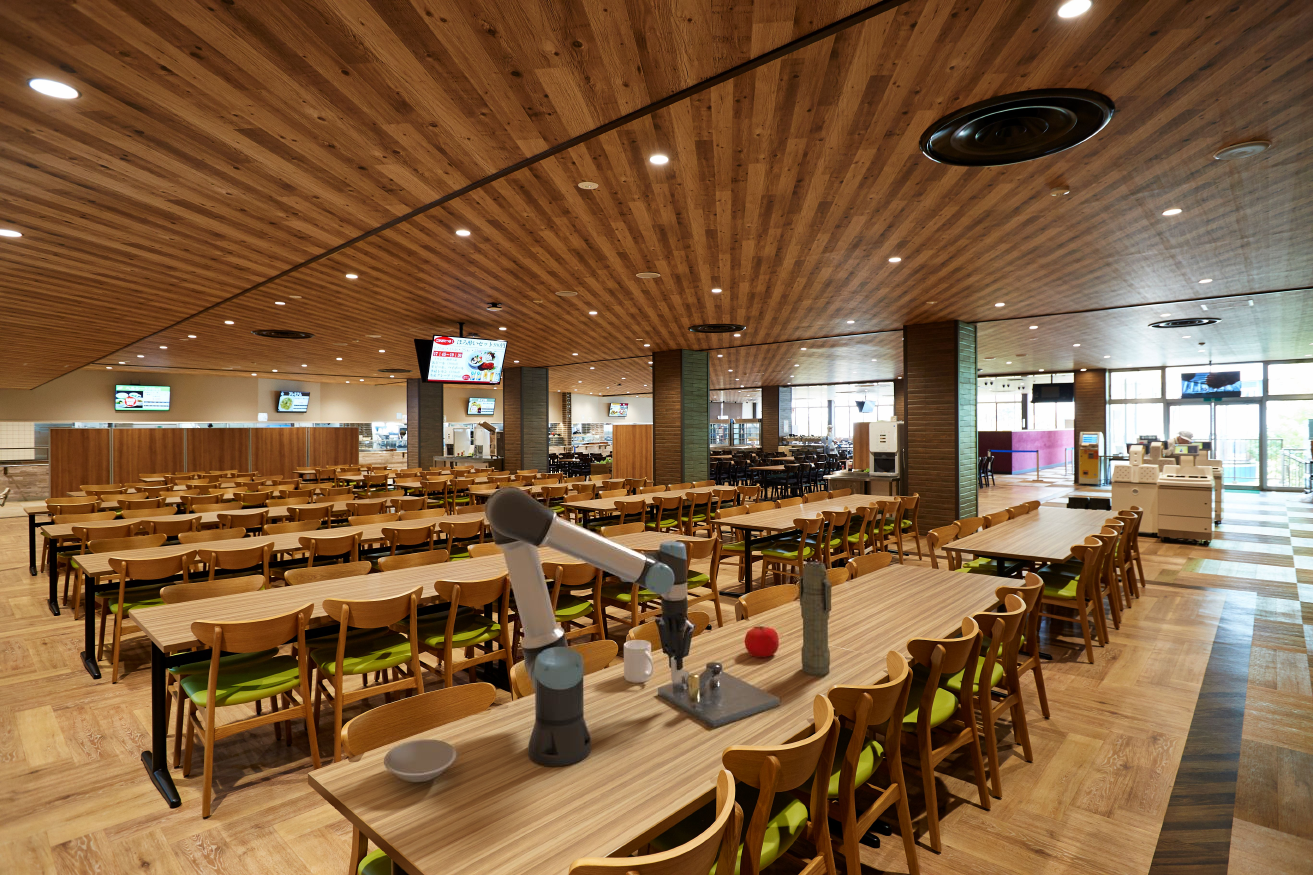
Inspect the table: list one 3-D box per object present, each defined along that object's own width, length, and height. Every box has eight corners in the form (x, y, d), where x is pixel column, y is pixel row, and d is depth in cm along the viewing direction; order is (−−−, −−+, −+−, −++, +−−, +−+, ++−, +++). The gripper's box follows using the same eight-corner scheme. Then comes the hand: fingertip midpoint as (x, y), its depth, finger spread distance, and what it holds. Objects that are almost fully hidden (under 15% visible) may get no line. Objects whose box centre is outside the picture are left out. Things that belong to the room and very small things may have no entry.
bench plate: (713, 728, 162) (713, 705, 162) (657, 694, 183) (657, 674, 183) (779, 705, 175) (779, 683, 175) (720, 676, 197) (720, 657, 197)
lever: (683, 700, 172) (683, 675, 172) (709, 676, 188) (709, 654, 188) (699, 703, 169) (699, 678, 169) (724, 679, 186) (724, 656, 186)
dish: (370, 778, 139) (370, 756, 139) (429, 752, 151) (429, 732, 151) (410, 807, 128) (410, 783, 128) (470, 777, 139) (470, 755, 139)
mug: (641, 689, 187) (641, 653, 187) (618, 677, 197) (618, 643, 197) (663, 681, 193) (663, 647, 193) (640, 670, 202) (639, 637, 202)
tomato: (786, 657, 213) (785, 627, 213) (753, 663, 208) (753, 632, 208) (768, 647, 223) (768, 619, 223) (737, 652, 218) (737, 623, 218)
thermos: (824, 679, 193) (823, 567, 193) (792, 669, 202) (791, 562, 202) (839, 672, 199) (838, 563, 199) (808, 662, 208) (807, 558, 208)
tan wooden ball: (691, 692, 180) (691, 678, 180) (683, 687, 183) (682, 674, 183) (702, 689, 182) (701, 675, 182) (693, 684, 185) (693, 671, 185)
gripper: (648, 596, 177) (650, 679, 177) (684, 603, 168) (687, 689, 168) (664, 591, 182) (666, 670, 183) (700, 597, 174) (702, 680, 174)
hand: (676, 679), depth 176 cm, fingers closed
